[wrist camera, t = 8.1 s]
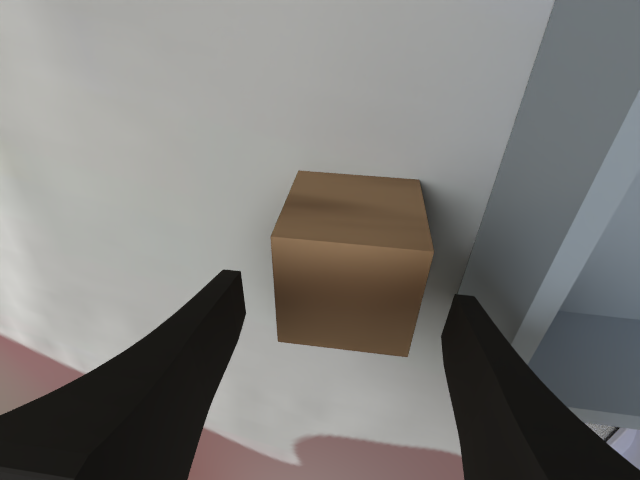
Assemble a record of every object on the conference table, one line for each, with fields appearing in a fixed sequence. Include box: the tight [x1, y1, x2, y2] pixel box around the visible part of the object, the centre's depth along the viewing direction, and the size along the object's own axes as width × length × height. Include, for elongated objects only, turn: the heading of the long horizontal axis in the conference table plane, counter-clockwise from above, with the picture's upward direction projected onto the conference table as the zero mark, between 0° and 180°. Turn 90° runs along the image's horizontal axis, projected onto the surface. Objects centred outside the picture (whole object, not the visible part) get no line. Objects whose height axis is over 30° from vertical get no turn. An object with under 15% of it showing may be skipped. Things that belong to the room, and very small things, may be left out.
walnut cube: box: [271, 171, 434, 357], centre depth 15 cm, size 5×5×5 cm
